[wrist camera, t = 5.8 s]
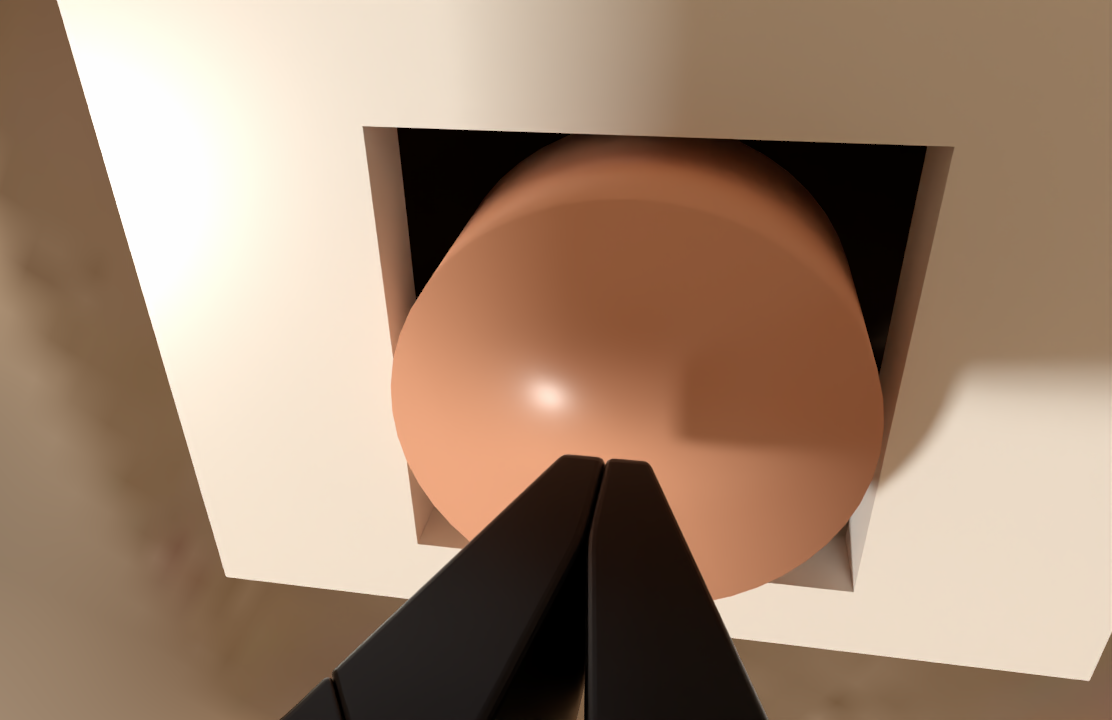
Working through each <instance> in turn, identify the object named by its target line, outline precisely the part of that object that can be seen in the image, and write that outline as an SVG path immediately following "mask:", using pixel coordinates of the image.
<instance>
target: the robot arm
mask: <svg viewBox="0 0 1112 720" xmlns="http://www.w3.org/2000/svg"><path fill="white" fill-rule="evenodd" d="M332 679H333V680H332ZM332 679H331V678H324V679H323V680H322V681H321V682H320V683H319V684H318V685H317V686H316V687H315V688H314V689H313V690H312V691H310V692H309V693H308V694H307V695H306V696H305V697H304V698H303V699H302V700H301V701H300V702H299V703H298V704H297V705H296V706H295V707H293V708H292V709H291V710H290V711H289V712H288V713H287V714H286V715H285V716H283V717H282V718H281V719H280V720H576V719H577V715H578V711H579V707H580V702H581V698H582V694H583V689H584V684H585V696H584V720H768V717H767V715H766V713H765V711H764V709H763V707H762V704H761V702H760V700H759V698H758V696H757V694H756V691H755V689H754V687H753V685H752V683H751V681H750V678H749V676H748V674H747V672H746V670H745V668H744V665H743V663H742V661H741V659H740V657H739V655H738V652H737V650H736V648H735V646H734V644H733V642H732V639H731V637H730V635H729V633H728V631H727V629H726V626H725V624H724V622H723V620H722V618H721V616H720V613H719V611H718V609H717V607H716V605H715V603H714V600H713V598H712V596H711V594H710V592H709V590H708V587H707V585H706V583H705V581H704V579H703V577H702V574H701V572H700V570H699V568H698V566H697V564H696V561H695V559H694V557H693V555H692V553H691V551H690V548H689V546H688V544H687V542H686V540H685V538H684V536H683V533H682V531H681V529H680V527H679V525H678V523H677V520H676V518H675V516H674V514H673V512H672V510H671V507H670V505H669V503H668V501H667V499H666V497H665V494H664V492H663V490H662V488H661V486H660V484H659V481H658V479H657V477H656V475H655V473H654V471H653V468H652V467H651V465H650V464H649V463H648V462H645V461H639V460H628V459H617V458H612V459H610V460H608V461H607V462H606V464H605V462H604V460H603V459H602V458H600V457H595V456H584V455H573V454H565V455H563V456H560V457H559V458H558V459H557V460H556V461H555V462H554V463H553V464H552V465H551V466H549V467H548V468H547V469H546V470H545V471H544V472H543V473H542V474H541V475H540V476H539V477H538V478H537V479H536V480H535V481H534V482H532V483H531V484H530V485H529V486H528V487H527V488H526V489H525V490H524V491H523V492H522V493H521V494H520V495H519V496H518V497H517V498H516V499H514V500H513V501H512V502H511V503H510V504H509V505H508V506H507V507H506V508H505V509H504V510H503V511H502V512H501V513H500V514H499V515H498V516H496V517H495V518H494V519H493V520H492V521H491V522H490V523H489V524H488V525H487V526H486V527H485V528H484V529H483V530H482V531H481V532H480V533H478V534H477V535H476V536H475V537H474V538H473V539H472V540H471V541H470V542H469V543H468V544H467V545H466V546H465V547H464V548H463V549H461V550H460V551H459V552H458V553H457V554H456V555H455V556H454V557H453V558H452V559H451V560H450V561H449V562H448V563H447V564H446V565H445V566H443V567H442V568H441V569H440V570H439V571H438V572H437V573H436V574H435V575H434V576H433V577H432V578H431V579H430V580H429V581H428V582H427V583H425V584H424V585H423V586H422V587H421V588H420V589H419V590H418V591H417V592H416V593H415V594H414V595H413V596H412V597H411V598H410V599H409V600H407V601H406V602H405V603H404V604H403V605H402V606H401V607H400V608H399V609H398V610H397V611H396V612H395V613H394V614H393V615H392V616H390V617H389V618H388V619H387V620H386V621H385V622H384V623H383V624H382V625H381V626H380V627H379V628H378V629H377V630H376V631H375V632H374V633H372V634H371V635H370V636H369V637H368V638H367V639H366V640H365V641H364V642H363V643H362V644H361V645H360V646H359V647H358V648H357V649H356V650H354V651H353V652H352V653H351V654H350V655H349V656H348V657H347V658H346V659H345V660H344V661H343V662H342V663H341V664H340V665H339V666H338V667H336V668H335V669H334V670H333V672H332Z"/></svg>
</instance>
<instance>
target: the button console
mask: <svg viewBox="0 0 1112 720" xmlns="http://www.w3.org/2000/svg"><path fill="white" fill-rule="evenodd" d="M57 2H58V5H59V8H60V12H61V15H62V19H63V22H64V26H65V29H66V32H67V36H68V39H69V43H70V46H71V49H72V53H73V56H74V60H75V63H76V66H77V70H78V73H79V77H80V80H81V84H82V87H83V90H84V94H85V97H86V101H87V104H88V107H89V111H90V114H91V118H92V121H93V124H94V128H95V131H96V135H97V138H98V142H99V145H100V148H101V152H102V155H103V159H104V162H105V165H106V169H107V172H108V176H109V179H110V182H111V186H112V189H113V193H114V196H115V199H116V203H117V206H118V210H119V213H120V217H121V220H122V223H123V227H124V230H125V234H126V237H127V240H128V244H129V247H130V251H131V254H132V257H133V261H134V264H135V268H136V271H137V275H138V278H139V281H140V285H141V288H142V292H143V295H144V298H145V302H146V305H147V309H148V312H149V315H150V319H151V322H152V326H153V329H154V332H155V336H156V339H157V343H158V346H159V350H160V353H161V356H162V360H163V363H164V367H165V370H166V373H167V377H168V380H169V384H170V387H171V390H172V394H173V397H174V401H175V404H176V408H177V411H178V414H179V418H180V421H181V425H182V428H183V431H184V435H185V438H186V442H187V445H188V448H189V452H190V455H191V459H192V462H193V466H194V469H195V472H196V476H197V479H198V483H199V486H200V489H201V493H202V496H203V500H204V503H205V506H206V510H207V513H208V517H209V520H210V523H211V527H212V530H213V534H214V537H215V541H216V544H217V547H218V551H219V554H220V558H221V561H222V564H223V568H224V571H225V575H226V577H232V578H240V579H249V580H257V581H265V582H274V583H282V584H290V585H298V586H307V587H315V588H323V589H332V590H340V591H348V592H357V593H365V594H373V595H381V596H390V597H398V598H406V599H410V598H411V597H412V596H413V595H414V594H415V593H416V592H417V591H418V590H419V589H420V588H421V587H422V586H423V585H424V584H425V583H427V582H428V581H429V580H430V579H431V578H432V577H433V576H434V575H435V574H436V573H437V572H438V571H439V570H440V569H441V568H442V567H443V566H445V565H446V564H447V563H448V562H449V561H450V560H451V559H452V558H453V557H454V556H455V555H456V554H457V553H458V552H459V551H460V550H461V549H463V548H464V547H465V546H466V545H467V544H468V543H469V542H470V541H468V540H467V539H466V538H465V537H464V536H463V535H462V534H461V533H460V532H459V531H457V530H456V529H455V528H454V527H453V526H452V525H451V524H450V523H449V522H448V521H447V520H446V518H445V517H444V516H443V515H442V514H441V513H440V512H439V511H438V509H437V508H436V507H435V506H434V505H433V504H432V502H431V501H430V499H429V498H428V496H427V495H426V493H425V492H424V491H423V489H422V488H421V486H420V485H419V483H418V481H417V480H416V478H415V476H414V474H413V472H412V470H411V468H410V466H409V464H408V462H407V460H406V458H405V455H404V452H403V450H402V447H401V444H400V441H399V439H398V436H397V431H396V426H395V422H394V417H393V412H392V399H391V377H392V366H393V358H394V354H395V350H396V346H397V343H398V339H399V335H400V332H401V330H402V328H403V325H404V323H405V321H406V318H407V316H408V314H409V312H410V309H411V308H412V306H413V305H414V303H415V302H416V295H415V286H414V277H413V268H412V259H411V250H410V241H409V232H408V223H407V214H406V205H405V196H404V187H403V178H402V169H401V160H400V151H399V142H398V133H397V127H402V128H430V129H459V130H488V131H517V132H545V133H574V134H603V135H632V136H660V137H689V138H718V139H747V140H775V141H804V142H833V143H862V144H890V145H919V146H927V150H926V155H925V159H924V164H923V169H922V174H921V178H920V183H919V188H918V193H917V198H916V202H915V207H914V212H913V217H912V221H911V226H910V231H909V236H908V241H907V245H906V250H905V255H904V260H903V264H902V269H901V274H900V279H899V283H898V288H897V293H896V298H895V303H894V307H893V312H892V317H891V322H890V326H889V331H888V336H887V341H886V345H885V350H884V355H883V360H882V365H881V369H880V374H879V380H880V384H881V389H882V394H883V407H884V431H883V438H882V445H881V453H880V456H879V460H878V463H877V466H876V469H875V472H874V476H873V479H872V481H871V483H870V485H869V487H868V489H867V491H866V493H865V495H864V497H863V499H862V501H861V503H860V505H859V506H858V507H857V509H856V510H855V512H854V513H853V515H852V516H851V517H850V519H849V520H848V522H847V523H846V525H845V526H844V527H843V528H842V529H841V530H840V531H839V532H838V533H837V534H836V535H835V536H834V537H833V538H832V539H831V541H830V542H829V543H828V544H827V545H826V546H824V547H823V548H822V549H821V550H819V551H818V552H817V553H816V554H814V555H813V556H812V557H811V558H809V559H808V560H807V561H806V562H804V563H803V564H801V565H799V566H798V567H796V568H794V569H793V570H791V571H790V572H788V573H786V574H785V575H783V576H781V577H779V578H777V579H775V580H773V581H770V582H768V583H766V584H764V585H762V586H760V587H757V588H755V589H752V590H749V591H746V592H743V593H740V594H737V595H734V596H731V597H726V598H722V599H717V600H714V603H715V605H716V607H717V609H718V611H719V613H720V616H721V618H722V620H723V622H724V624H725V626H726V629H727V631H728V633H729V635H730V637H731V638H738V639H746V640H755V641H763V642H771V643H779V644H788V645H796V646H804V647H813V648H821V649H829V650H837V651H846V652H854V653H862V654H871V655H879V656H887V657H895V658H904V659H912V660H920V661H929V662H937V663H945V664H954V665H962V666H970V667H978V668H987V669H995V670H1003V671H1012V672H1020V673H1028V674H1036V675H1045V676H1053V677H1061V678H1070V679H1078V680H1086V681H1089V680H1090V678H1091V676H1092V674H1093V672H1094V670H1095V667H1096V665H1097V663H1098V661H1099V659H1100V656H1101V654H1102V652H1103V650H1104V648H1105V645H1106V643H1107V641H1108V639H1109V637H1110V634H1111V632H1112V0H57Z"/></svg>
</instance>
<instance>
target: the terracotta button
mask: <svg viewBox="0 0 1112 720" xmlns="http://www.w3.org/2000/svg"><path fill="white" fill-rule="evenodd" d="M391 399H392V412H393V417H394V422H395V426H396V431H397V436H398V439H399V441H400V444H401V447H402V450H403V452H404V455H405V458H406V460H407V462H408V464H409V466H410V468H411V470H412V472H413V474H414V476H415V478H416V480H417V481H418V483H419V485H420V486H421V488H422V489H423V491H424V492H425V493H426V495H427V496H428V498H429V499H430V501H431V502H432V504H433V505H434V506H435V507H436V508H437V509H438V511H439V512H440V513H441V514H442V515H443V516H444V517H445V518H446V520H447V521H448V522H449V523H450V524H451V525H452V526H453V527H454V528H455V529H456V530H457V531H459V532H460V533H461V534H462V535H463V536H464V537H465V538H466V539H467V540H468V541H471V540H472V539H473V538H474V537H475V536H476V535H477V534H478V533H480V532H481V531H482V530H483V529H484V528H485V527H486V526H487V525H488V524H489V523H490V522H491V521H492V520H493V519H494V518H495V517H496V516H498V515H499V514H500V513H501V512H502V511H503V510H504V509H505V508H506V507H507V506H508V505H509V504H510V503H511V502H512V501H513V500H514V499H516V498H517V497H518V496H519V495H520V494H521V493H522V492H523V491H524V490H525V489H526V488H527V487H528V486H529V485H530V484H531V483H532V482H534V481H535V480H536V479H537V478H538V477H539V476H540V475H541V474H542V473H543V472H544V471H545V470H546V469H547V468H548V467H549V466H551V465H552V464H553V463H554V462H555V461H556V460H557V459H558V458H559V457H560V456H563V455H565V454H573V455H584V456H595V457H600V458H602V459H603V460H604V462H605V464H606V462H607V461H608V460H610V459H612V458H617V459H628V460H639V461H645V462H648V463H649V464H650V465H651V467H652V468H653V471H654V473H655V475H656V477H657V479H658V481H659V484H660V486H661V488H662V490H663V492H664V494H665V497H666V499H667V501H668V503H669V505H670V507H671V510H672V512H673V514H674V516H675V518H676V520H677V523H678V525H679V527H680V529H681V531H682V533H683V536H684V538H685V540H686V542H687V544H688V546H689V548H690V551H691V553H692V555H693V557H694V559H695V561H696V564H697V566H698V568H699V570H700V572H701V574H702V577H703V579H704V581H705V583H706V585H707V587H708V590H709V592H710V594H711V596H712V598H713V600H717V599H722V598H726V597H731V596H734V595H737V594H740V593H743V592H746V591H749V590H752V589H755V588H757V587H760V586H762V585H764V584H766V583H768V582H770V581H773V580H775V579H777V578H779V577H781V576H783V575H785V574H786V573H788V572H790V571H791V570H793V569H794V568H796V567H798V566H799V565H801V564H803V563H804V562H806V561H807V560H808V559H809V558H811V557H812V556H813V555H814V554H816V553H817V552H818V551H819V550H821V549H822V548H823V547H824V546H826V545H827V544H828V543H829V542H830V541H831V539H832V538H833V537H834V536H835V535H836V534H837V533H838V532H839V531H840V530H841V529H842V528H843V527H844V526H845V525H846V523H847V522H848V520H849V519H850V517H851V516H852V515H853V513H854V512H855V510H856V509H857V507H858V506H859V505H860V503H861V501H862V499H863V497H864V495H865V493H866V491H867V489H868V487H869V485H870V483H871V481H872V479H873V476H874V472H875V469H876V466H877V463H878V460H879V456H880V453H881V445H882V438H883V431H884V407H883V394H882V389H881V384H880V380H879V375H878V370H877V366H876V362H875V359H874V355H873V351H872V348H871V344H870V340H869V337H868V333H867V329H866V326H865V322H864V318H863V315H862V311H861V307H860V304H859V300H858V296H857V293H856V289H855V285H854V282H853V278H852V274H851V271H850V267H849V264H848V260H847V257H846V255H845V252H844V249H843V247H842V244H841V241H840V239H839V236H838V234H837V233H836V231H835V229H834V227H833V225H832V224H831V222H830V220H829V218H828V217H827V215H826V213H825V212H824V211H823V209H822V208H821V207H820V205H819V204H818V203H817V201H816V200H815V199H814V198H813V196H812V195H811V194H810V192H809V191H808V190H807V189H806V188H805V187H804V186H803V185H802V184H800V183H799V182H798V181H797V180H796V179H795V178H794V177H793V176H792V175H791V174H790V173H789V172H788V171H786V170H785V169H784V168H782V167H781V166H780V165H778V164H777V163H775V162H774V161H773V160H771V159H770V158H769V157H767V156H766V155H764V154H762V153H760V152H758V151H757V150H755V149H753V148H751V147H749V146H747V145H745V144H744V143H742V142H740V141H737V140H734V139H718V138H689V137H660V136H632V135H603V134H572V135H568V136H566V137H564V138H562V139H560V140H558V141H555V142H553V143H551V144H549V145H547V146H545V147H543V148H541V149H540V150H538V151H536V152H535V153H533V154H532V155H530V156H529V157H527V158H525V159H524V160H522V161H521V162H520V163H518V164H517V165H516V166H515V167H514V168H513V169H511V170H510V171H509V172H508V173H507V174H506V175H504V176H503V177H502V178H501V179H500V180H499V181H498V183H497V184H496V185H495V186H494V187H493V188H492V189H491V191H490V192H489V193H488V194H487V195H486V196H485V197H484V199H483V200H482V202H481V203H480V205H479V206H478V208H477V209H476V211H475V212H474V214H473V215H472V217H471V218H470V220H469V221H468V223H467V224H466V226H465V227H464V229H463V230H462V232H461V233H460V235H459V236H458V238H457V239H456V241H455V242H454V244H453V245H452V247H451V248H450V250H449V251H448V253H447V254H446V256H445V257H444V259H443V260H442V262H441V263H440V265H439V266H438V268H437V269H436V271H435V272H434V274H433V275H432V277H431V278H430V280H429V281H428V283H427V284H426V286H425V287H424V289H423V291H422V292H421V294H420V295H419V297H418V298H417V300H416V302H415V303H414V305H413V306H412V308H411V309H410V312H409V314H408V316H407V318H406V321H405V323H404V325H403V328H402V330H401V332H400V335H399V339H398V343H397V346H396V350H395V354H394V358H393V366H392V377H391Z"/></svg>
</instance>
